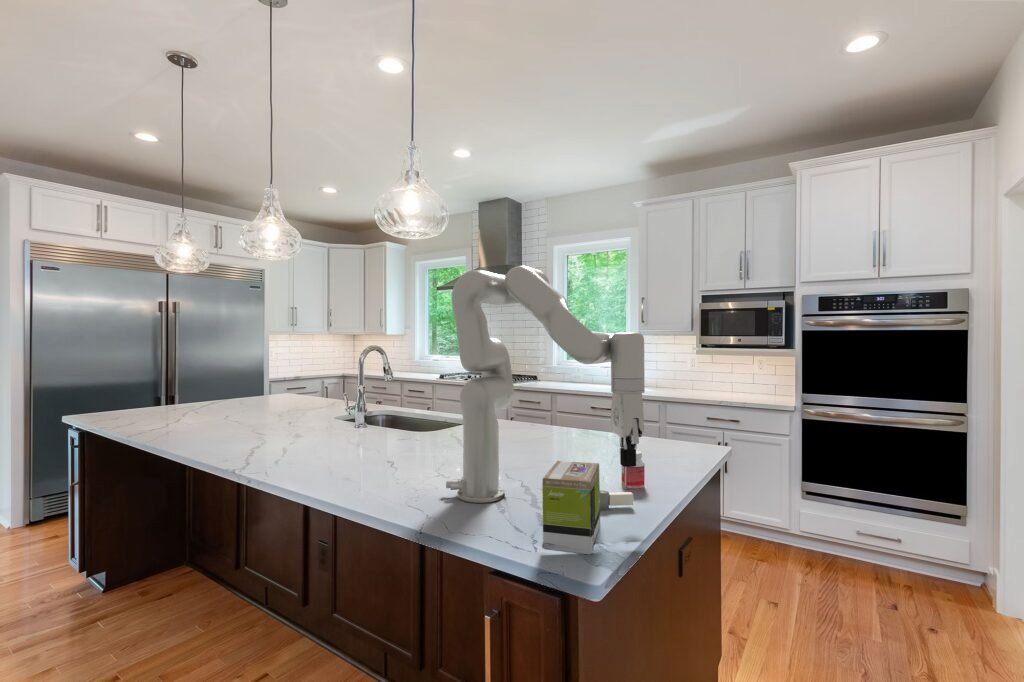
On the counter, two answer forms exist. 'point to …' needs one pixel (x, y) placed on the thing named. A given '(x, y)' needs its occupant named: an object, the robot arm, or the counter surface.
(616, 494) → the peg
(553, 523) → the tea box
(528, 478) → the counter surface
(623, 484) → the pill bottle
